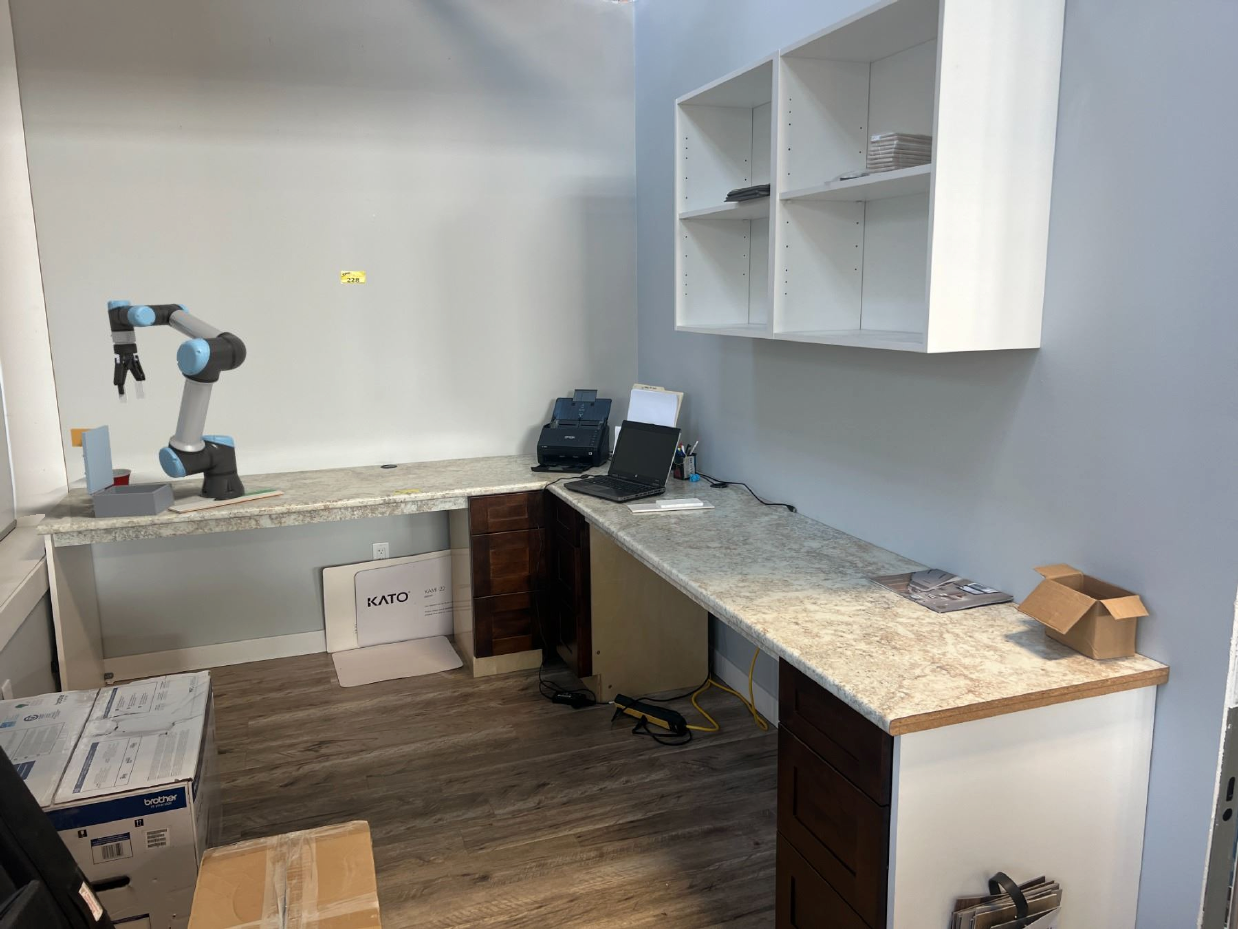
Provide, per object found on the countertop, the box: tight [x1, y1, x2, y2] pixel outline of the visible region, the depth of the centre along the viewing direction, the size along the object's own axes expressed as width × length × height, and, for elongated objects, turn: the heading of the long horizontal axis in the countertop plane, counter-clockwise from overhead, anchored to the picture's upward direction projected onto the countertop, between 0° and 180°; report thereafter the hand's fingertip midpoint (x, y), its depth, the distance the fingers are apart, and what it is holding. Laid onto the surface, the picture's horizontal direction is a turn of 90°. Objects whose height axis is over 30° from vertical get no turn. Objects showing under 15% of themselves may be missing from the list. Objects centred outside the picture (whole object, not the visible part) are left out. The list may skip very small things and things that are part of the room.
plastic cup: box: [104, 468, 132, 490], centre depth 321 cm, size 11×11×12 cm
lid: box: [70, 424, 114, 496], centre depth 300 cm, size 22×16×8 cm
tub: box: [91, 482, 175, 519], centre depth 305 cm, size 20×15×9 cm
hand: (132, 400), depth 324 cm, fingers open, 13 cm apart
